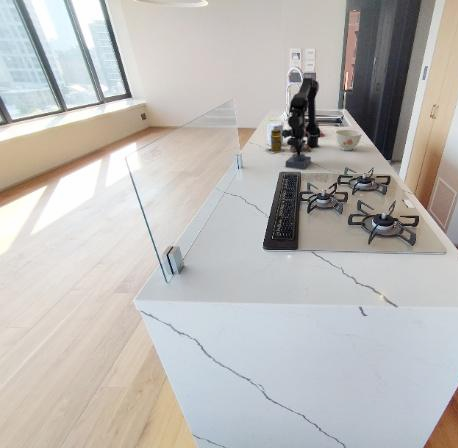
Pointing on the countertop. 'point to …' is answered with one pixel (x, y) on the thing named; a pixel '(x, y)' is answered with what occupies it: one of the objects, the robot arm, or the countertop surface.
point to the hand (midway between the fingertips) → (298, 154)
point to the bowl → (348, 138)
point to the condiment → (275, 141)
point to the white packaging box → (274, 127)
